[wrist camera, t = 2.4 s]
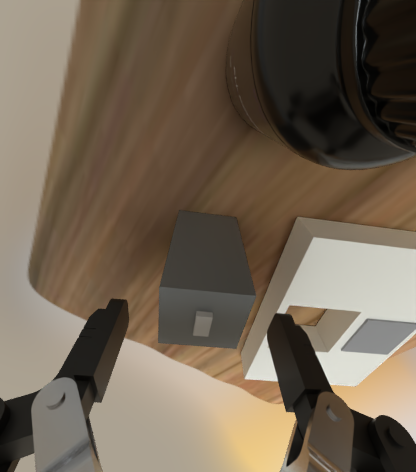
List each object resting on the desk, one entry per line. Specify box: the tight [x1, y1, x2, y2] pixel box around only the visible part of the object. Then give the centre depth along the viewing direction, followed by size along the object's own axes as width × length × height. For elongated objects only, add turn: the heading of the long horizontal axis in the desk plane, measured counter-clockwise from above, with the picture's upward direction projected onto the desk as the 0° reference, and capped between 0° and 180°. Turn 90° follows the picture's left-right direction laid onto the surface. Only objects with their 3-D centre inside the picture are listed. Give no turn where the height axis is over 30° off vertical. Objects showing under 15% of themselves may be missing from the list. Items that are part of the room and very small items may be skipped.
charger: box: [158, 210, 256, 349], centre depth 14 cm, size 4×4×8 cm
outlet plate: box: [241, 217, 416, 386], centre depth 21 cm, size 20×14×3 cm
